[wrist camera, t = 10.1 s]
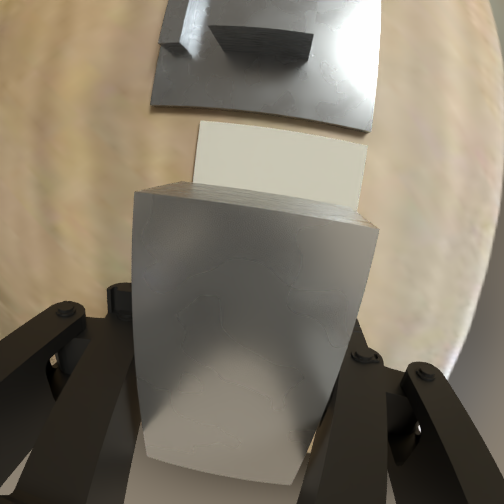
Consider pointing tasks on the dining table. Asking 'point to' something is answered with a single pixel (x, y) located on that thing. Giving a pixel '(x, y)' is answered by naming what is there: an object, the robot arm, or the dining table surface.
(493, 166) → the dining table surface
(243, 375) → the gray rectangular block
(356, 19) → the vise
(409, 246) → the dining table surface
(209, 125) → the mat
